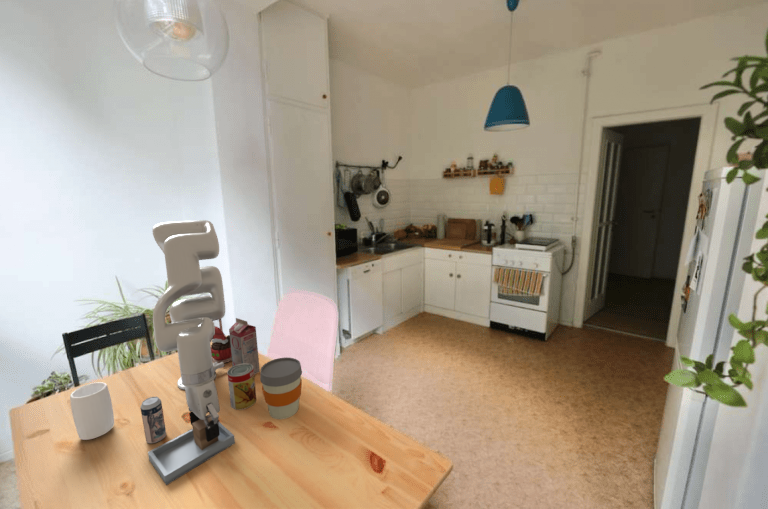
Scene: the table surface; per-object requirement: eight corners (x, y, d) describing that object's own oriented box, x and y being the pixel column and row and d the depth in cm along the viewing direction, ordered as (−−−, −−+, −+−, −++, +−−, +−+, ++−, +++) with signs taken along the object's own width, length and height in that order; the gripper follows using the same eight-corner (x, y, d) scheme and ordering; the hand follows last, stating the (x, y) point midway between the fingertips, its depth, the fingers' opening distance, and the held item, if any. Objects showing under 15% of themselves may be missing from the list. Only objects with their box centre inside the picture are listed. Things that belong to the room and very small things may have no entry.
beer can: (156, 446, 92) (150, 407, 89) (142, 443, 92) (135, 405, 90) (170, 433, 96) (164, 396, 94) (156, 431, 97) (150, 394, 95)
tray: (215, 424, 100) (214, 417, 99) (235, 443, 92) (234, 435, 92) (149, 460, 87) (147, 452, 86) (166, 485, 79) (164, 476, 79)
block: (211, 433, 95) (208, 414, 94) (218, 440, 92) (216, 421, 91) (194, 442, 92) (191, 423, 90) (201, 450, 89) (199, 430, 88)
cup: (123, 427, 99) (115, 384, 96) (90, 447, 91) (81, 401, 89) (103, 421, 102) (95, 379, 99) (71, 440, 94) (61, 395, 91)
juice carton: (244, 379, 123) (239, 324, 119) (233, 374, 127) (228, 320, 122) (259, 371, 129) (254, 318, 124) (248, 367, 132) (243, 315, 128)
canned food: (260, 401, 110) (257, 368, 108) (237, 413, 105) (233, 378, 102) (249, 392, 116) (246, 360, 113) (226, 402, 110) (223, 369, 108)
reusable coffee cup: (265, 428, 98) (261, 382, 95) (261, 403, 109) (258, 362, 106) (307, 416, 103) (305, 372, 100) (300, 394, 114) (297, 353, 111)
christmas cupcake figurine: (242, 355, 142) (238, 315, 139) (228, 366, 133) (223, 324, 130) (221, 352, 144) (216, 313, 141) (205, 363, 135) (200, 321, 132)
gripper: (227, 378, 86) (233, 436, 89) (198, 358, 96) (205, 410, 99) (196, 392, 80) (204, 453, 83) (169, 369, 90) (177, 424, 94)
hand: (205, 430), depth 91 cm, fingers open, 9 cm apart
